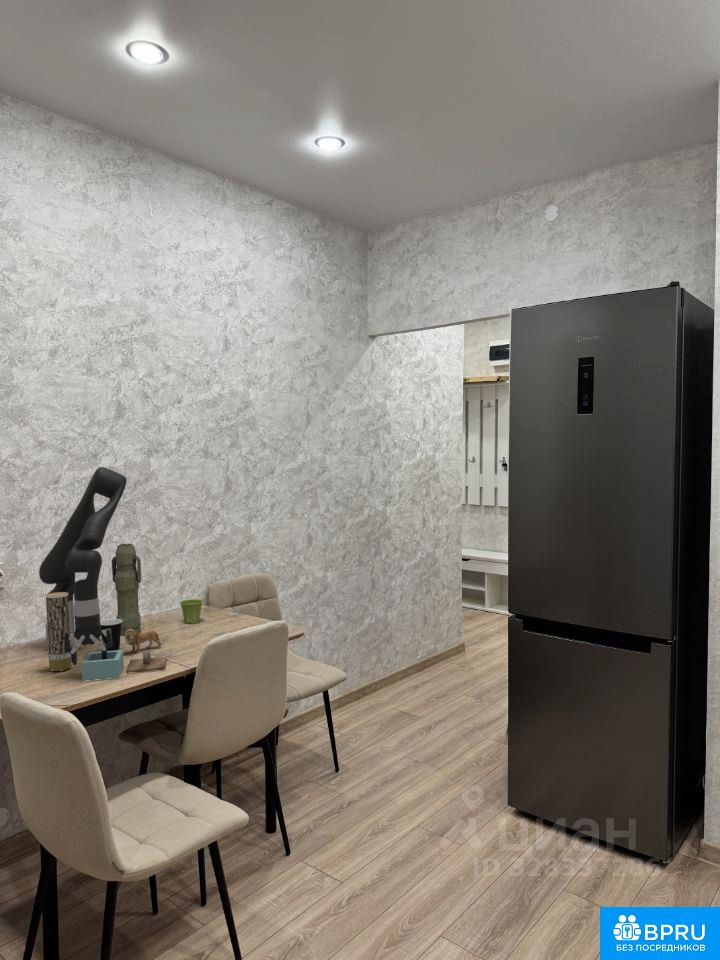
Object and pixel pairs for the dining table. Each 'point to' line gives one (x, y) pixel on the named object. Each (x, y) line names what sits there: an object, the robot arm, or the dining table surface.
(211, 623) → the dining table surface
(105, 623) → the dixie cup
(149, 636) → the lion figurine
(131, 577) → the thermos
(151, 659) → the shaft block
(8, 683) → the dining table surface
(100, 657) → the collar
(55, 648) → the paper tube
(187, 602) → the plant pot
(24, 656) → the dining table surface
